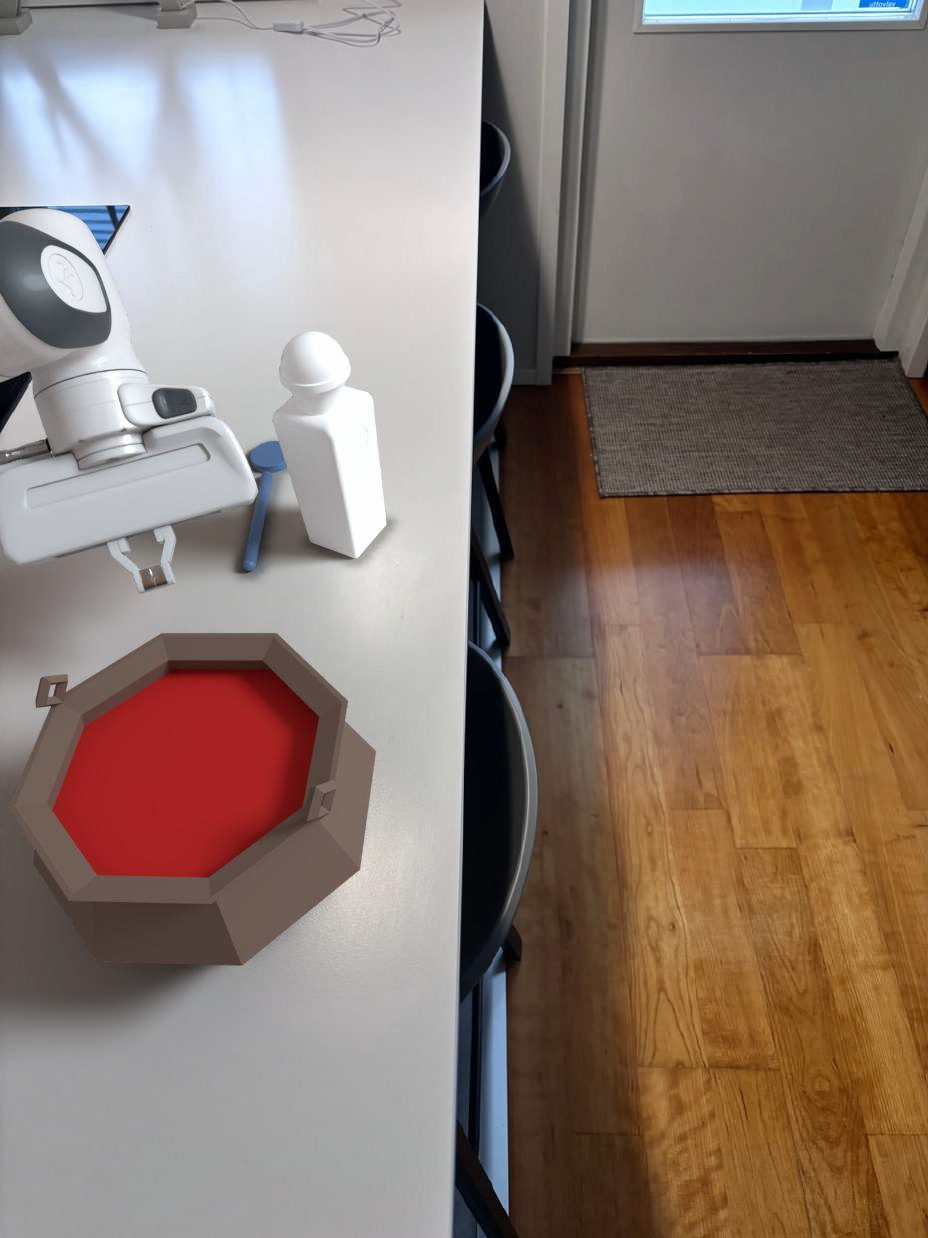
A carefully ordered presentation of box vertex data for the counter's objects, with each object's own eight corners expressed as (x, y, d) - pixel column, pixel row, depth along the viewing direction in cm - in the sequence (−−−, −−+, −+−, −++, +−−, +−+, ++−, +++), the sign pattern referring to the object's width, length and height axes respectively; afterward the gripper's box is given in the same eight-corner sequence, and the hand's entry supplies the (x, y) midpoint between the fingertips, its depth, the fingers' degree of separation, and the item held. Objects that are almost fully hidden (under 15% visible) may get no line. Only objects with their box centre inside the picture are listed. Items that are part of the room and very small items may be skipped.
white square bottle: (357, 564, 91) (317, 366, 74) (302, 544, 93) (251, 347, 77) (394, 522, 94) (362, 325, 78) (340, 503, 97) (298, 308, 80)
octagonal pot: (2, 933, 68) (-116, 817, 56) (199, 687, 82) (139, 551, 70) (283, 1082, 60) (216, 985, 48) (449, 782, 74) (430, 648, 62)
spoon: (272, 572, 91) (270, 563, 90) (227, 575, 91) (224, 566, 90) (294, 446, 104) (292, 437, 103) (254, 448, 104) (252, 439, 103)
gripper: (-44, 452, 71) (17, 628, 72) (225, 383, 75) (278, 551, 76) (-19, 464, 77) (36, 626, 78) (228, 400, 81) (277, 555, 82)
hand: (158, 589), depth 77 cm, fingers closed
